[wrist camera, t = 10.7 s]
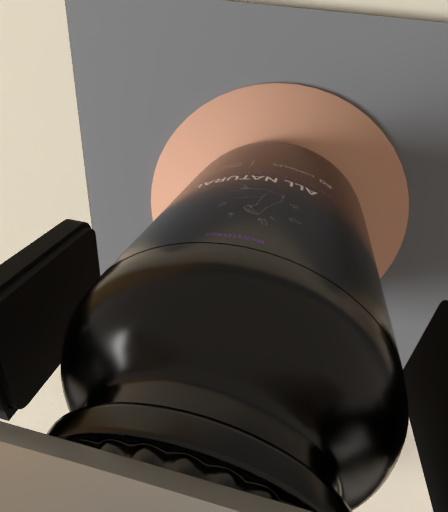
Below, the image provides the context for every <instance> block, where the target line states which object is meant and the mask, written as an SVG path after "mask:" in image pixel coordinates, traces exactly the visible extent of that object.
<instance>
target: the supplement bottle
mask: <svg viewBox="0 0 448 512" xmlns="http://www.w3.org/2000/svg"><path fill="white" fill-rule="evenodd" d="M61 381H62V387H63V393H64V396H65V400H66V403H67V406H68V409H69V411H70V412H69V413H67V414H66V415H64V416H62V417H61V418H60V419H59V420H57V421H56V422H55V423H54V424H53V426H52V427H51V428H50V430H49V431H48V432H47V435H50V436H54V437H57V438H61V439H64V440H68V441H71V442H75V443H78V444H82V445H85V446H89V447H92V448H96V449H99V450H103V451H106V452H110V453H113V454H117V455H120V456H124V457H127V458H131V459H134V460H137V461H141V462H144V463H148V464H151V465H155V466H158V467H162V468H165V469H168V470H172V471H175V472H179V473H182V474H186V475H189V476H193V477H196V478H199V479H203V480H206V481H210V482H213V483H216V484H220V485H223V486H227V487H230V488H234V489H237V490H240V491H244V492H247V493H251V494H254V495H258V496H261V497H264V498H268V499H271V500H275V501H278V502H281V503H285V504H288V505H292V506H295V507H298V508H302V509H305V510H308V511H312V512H352V511H353V510H354V509H356V508H357V507H359V506H360V505H362V504H363V503H364V502H366V501H367V500H368V499H369V498H370V497H372V496H373V495H374V494H375V493H376V492H377V491H378V490H379V489H380V487H381V486H382V485H383V484H384V482H385V481H386V480H387V478H388V477H389V475H390V474H391V472H392V470H393V468H394V467H395V465H396V463H397V461H398V459H399V456H400V453H401V450H402V448H403V445H404V442H405V438H406V434H407V428H408V420H409V403H408V397H407V391H406V384H405V379H404V372H403V368H402V364H401V359H400V356H399V352H398V348H397V344H396V340H395V336H394V332H393V328H392V324H391V320H390V316H389V312H388V308H387V305H386V301H385V297H384V293H383V289H382V285H381V281H380V277H379V273H378V269H377V265H376V262H375V258H374V254H373V250H372V246H371V242H370V238H369V234H368V230H367V226H366V223H365V219H364V216H363V212H362V209H361V206H360V203H359V200H358V198H357V195H356V193H355V191H354V189H353V188H352V186H351V184H350V183H349V181H348V180H347V179H346V177H345V176H344V175H343V174H342V172H341V171H340V170H339V169H338V168H337V167H336V166H334V165H333V164H332V163H331V162H330V161H328V160H327V159H325V158H324V157H323V156H321V155H319V154H317V153H315V152H314V151H311V150H309V149H307V148H304V147H301V146H298V145H294V144H289V143H284V142H257V143H252V144H247V145H244V146H240V147H237V148H235V149H233V150H230V151H229V152H227V153H225V154H223V155H221V156H220V157H218V158H217V159H216V160H214V161H213V162H212V163H210V164H209V165H208V166H207V167H206V168H205V169H204V170H203V171H202V172H201V173H200V174H199V175H198V176H197V177H196V178H195V179H194V180H193V181H192V182H191V183H190V184H189V185H188V186H187V187H186V188H185V189H184V190H183V191H182V192H181V193H180V194H179V195H178V196H177V197H176V198H175V199H174V200H173V201H172V202H171V204H170V205H169V206H168V207H167V208H166V209H165V210H164V211H163V212H162V213H161V214H160V215H159V216H158V217H157V218H156V219H155V220H154V221H153V222H152V223H151V224H150V225H149V226H148V227H147V228H146V229H145V230H144V231H143V233H142V234H141V235H140V236H139V237H138V238H137V239H136V240H135V241H134V242H133V243H132V244H131V245H130V246H129V247H128V248H127V249H126V250H125V251H124V252H123V253H122V254H121V255H120V256H119V257H118V258H117V259H116V261H115V262H114V263H113V264H112V265H111V266H110V267H109V268H108V269H107V270H106V271H105V272H104V273H103V274H102V275H101V276H100V277H99V279H98V280H97V281H96V282H95V283H94V284H93V286H92V287H91V288H90V289H89V290H88V291H87V293H86V294H85V295H84V296H83V298H82V299H81V300H80V302H79V303H78V305H77V307H76V308H75V310H74V312H73V314H72V316H71V318H70V321H69V323H68V326H67V329H66V333H65V336H64V340H63V345H62V354H61Z"/></svg>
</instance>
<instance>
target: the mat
mask: <svg viewBox="0 0 448 512" xmlns="http://www.w3.org/2000/svg"><path fill="white" fill-rule="evenodd" d="M65 6H66V14H67V22H68V31H69V39H70V47H71V56H72V64H73V73H74V81H75V89H76V98H77V106H78V115H79V123H80V131H81V140H82V148H83V157H84V165H85V173H86V182H87V190H88V198H89V207H90V215H91V224H92V229H93V230H94V231H95V233H96V241H97V250H98V258H99V267H100V276H101V275H102V274H103V273H104V272H105V271H106V270H107V269H108V268H109V267H110V266H111V265H112V264H113V263H114V262H115V261H116V259H117V258H118V257H119V256H120V255H121V254H122V253H123V252H124V251H125V250H126V249H127V248H128V247H129V246H130V245H131V244H132V243H133V242H134V241H135V240H136V239H137V238H138V237H139V236H140V235H141V234H142V233H143V231H144V230H145V229H146V228H147V227H148V226H149V225H150V224H151V223H152V222H153V221H154V220H155V219H156V218H157V217H158V216H159V215H160V214H161V213H162V212H163V211H164V210H165V209H166V208H167V207H168V206H169V205H170V204H171V202H172V201H173V200H174V199H175V198H176V197H177V196H178V195H179V194H180V193H181V192H182V191H183V190H184V189H185V188H186V187H187V186H188V185H189V184H190V183H191V182H192V181H193V180H194V179H195V178H196V177H197V176H198V175H199V174H200V173H201V172H202V171H203V170H204V169H205V168H206V167H207V166H208V165H209V164H210V163H212V162H213V161H214V160H216V159H217V158H218V157H220V156H221V155H223V154H225V153H227V152H229V151H230V150H233V149H235V148H237V147H240V146H244V145H247V144H252V143H257V142H284V143H289V144H294V145H298V146H301V147H304V148H307V149H309V150H311V151H314V152H315V153H317V154H319V155H321V156H323V157H324V158H325V159H327V160H328V161H330V162H331V163H332V164H333V165H334V166H336V167H337V168H338V169H339V170H340V171H341V172H342V174H343V175H344V176H345V177H346V179H347V180H348V181H349V183H350V184H351V186H352V188H353V189H354V191H355V193H356V195H357V198H358V200H359V203H360V206H361V209H362V212H363V216H364V219H365V223H366V226H367V230H368V234H369V238H370V242H371V246H372V250H373V254H374V258H375V262H376V265H377V269H378V273H379V277H380V281H381V285H382V289H383V293H384V297H385V301H386V305H387V308H388V312H389V316H390V320H391V324H392V328H393V332H394V336H395V340H396V344H397V348H398V352H399V356H400V359H401V364H402V368H403V369H404V367H405V365H406V363H407V362H408V360H409V358H410V356H411V354H412V353H413V351H414V349H415V347H416V345H417V344H418V342H419V340H420V338H421V336H422V335H423V333H424V331H425V329H426V327H427V326H428V324H429V322H430V320H431V318H432V317H433V315H434V313H435V311H436V309H437V308H438V306H439V304H440V303H441V302H442V301H443V300H448V23H445V22H435V21H425V20H415V19H405V18H395V17H385V16H375V15H365V14H355V13H345V12H336V11H326V10H316V9H306V8H296V7H286V6H276V5H266V4H256V3H246V2H236V1H226V0H65Z"/></svg>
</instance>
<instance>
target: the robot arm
mask: <svg viewBox="0 0 448 512" xmlns="http://www.w3.org/2000/svg"><path fill="white" fill-rule="evenodd" d="M99 277H100V267H99V258H98V250H97V241H96V233H95V231H94V230H93V229H91V227H90V225H89V224H88V223H86V222H81V221H76V220H71V219H66V220H64V221H63V222H61V223H60V224H58V225H57V226H55V227H54V228H53V229H51V230H50V231H48V232H47V233H45V234H44V235H42V236H41V237H40V238H38V239H37V240H35V241H34V242H32V243H31V244H30V245H28V246H27V247H25V248H24V249H22V250H21V251H19V252H18V253H17V254H15V255H14V256H12V257H11V258H9V259H8V260H7V261H5V262H4V263H2V264H1V265H0V418H1V419H4V420H8V421H9V420H10V419H11V417H12V416H13V415H14V414H15V412H16V411H17V410H18V409H22V408H24V407H26V406H27V405H28V403H29V402H30V401H31V400H32V398H33V397H34V396H35V395H36V393H37V392H38V391H39V390H40V388H41V387H42V386H43V385H44V383H45V382H46V381H47V380H48V378H49V377H50V376H51V375H52V373H53V372H54V371H55V370H56V368H57V367H58V366H59V365H60V363H61V354H62V345H63V340H64V336H65V333H66V329H67V326H68V323H69V321H70V318H71V316H72V314H73V312H74V310H75V308H76V307H77V305H78V303H79V302H80V300H81V299H82V298H83V296H84V295H85V294H86V293H87V291H88V290H89V289H90V288H91V287H92V286H93V284H94V283H95V282H96V281H97V280H98V279H99ZM403 372H404V379H405V384H406V391H407V397H408V403H409V419H410V423H411V426H412V430H413V434H414V438H415V442H416V446H417V450H418V453H419V457H420V461H421V465H422V469H423V473H424V477H425V480H426V484H427V488H428V492H429V496H430V500H431V504H432V508H433V511H434V512H448V300H443V301H442V302H441V303H440V304H439V306H438V308H437V309H436V311H435V313H434V315H433V317H432V318H431V320H430V322H429V324H428V326H427V327H426V329H425V331H424V333H423V335H422V336H421V338H420V340H419V342H418V344H417V345H416V347H415V349H414V351H413V353H412V354H411V356H410V358H409V360H408V362H407V363H406V365H405V367H404V369H403ZM0 512H312V511H308V510H305V509H302V508H298V507H295V506H292V505H288V504H285V503H281V502H278V501H275V500H271V499H268V498H264V497H261V496H258V495H254V494H251V493H247V492H244V491H240V490H237V489H234V488H230V487H227V486H223V485H220V484H216V483H213V482H210V481H206V480H203V479H199V478H196V477H193V476H189V475H186V474H182V473H179V472H175V471H172V470H168V469H165V468H162V467H158V466H155V465H151V464H148V463H144V462H141V461H137V460H134V459H131V458H127V457H124V456H120V455H117V454H113V453H110V452H106V451H103V450H99V449H96V448H92V447H89V446H85V445H82V444H78V443H75V442H71V441H68V440H64V439H61V438H57V437H54V436H50V435H47V434H43V433H40V432H36V431H33V430H29V429H26V428H22V427H19V426H15V425H12V424H8V423H5V422H1V421H0Z"/></svg>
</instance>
